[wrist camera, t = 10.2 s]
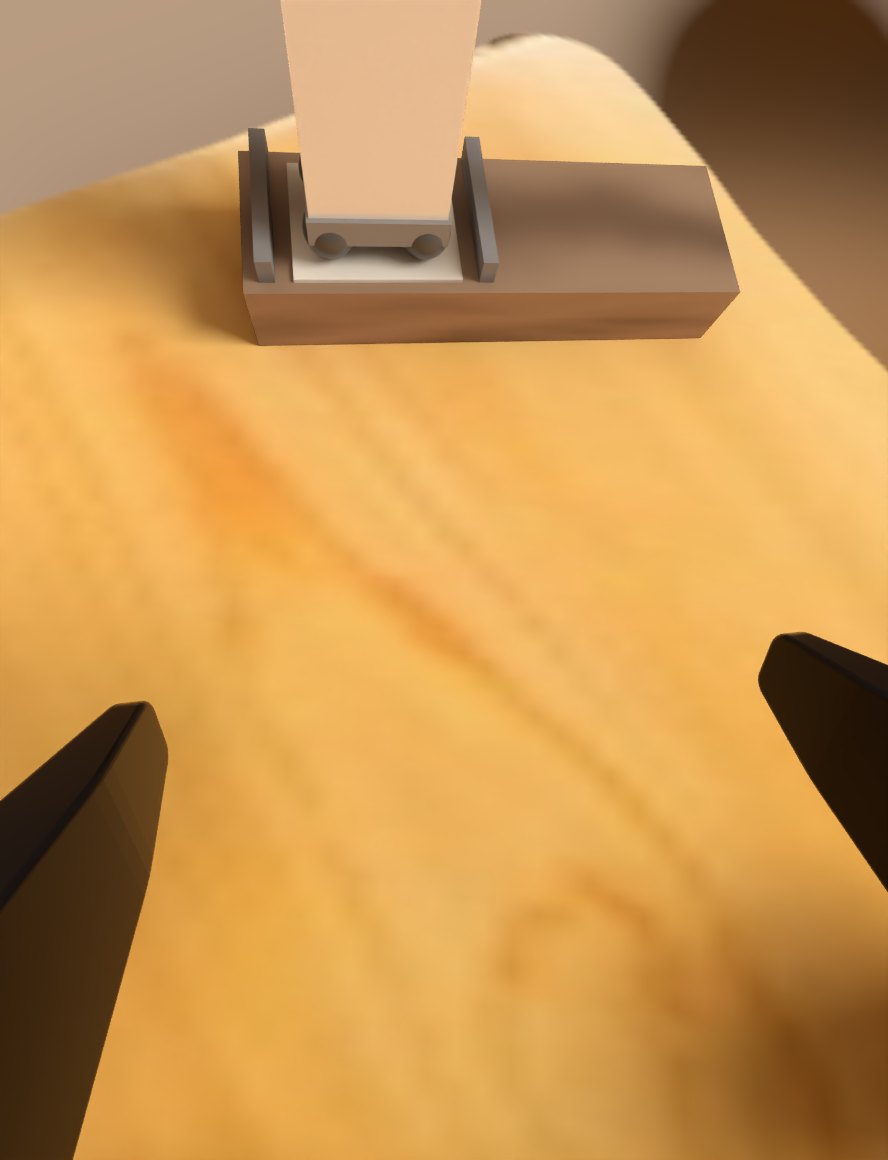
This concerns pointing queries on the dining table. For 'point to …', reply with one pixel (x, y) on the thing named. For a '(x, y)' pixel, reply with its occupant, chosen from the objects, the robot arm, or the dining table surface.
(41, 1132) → the robot arm
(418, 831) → the dining table surface
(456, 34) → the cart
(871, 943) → the dining table surface
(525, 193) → the dock
